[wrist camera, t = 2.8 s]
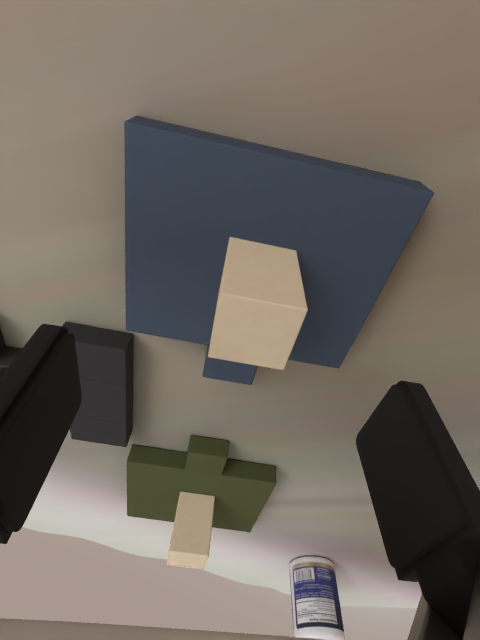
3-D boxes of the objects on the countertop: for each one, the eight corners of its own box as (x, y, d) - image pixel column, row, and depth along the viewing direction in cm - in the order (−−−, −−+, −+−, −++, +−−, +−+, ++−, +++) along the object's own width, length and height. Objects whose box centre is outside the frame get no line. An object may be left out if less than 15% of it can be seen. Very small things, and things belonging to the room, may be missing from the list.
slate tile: (420, 181, 14) (499, 242, 10) (319, 379, 22) (336, 467, 17) (136, 115, 13) (68, 147, 9) (133, 346, 21) (96, 431, 16)
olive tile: (284, 449, 27) (289, 532, 22) (250, 516, 35) (248, 588, 30) (132, 425, 26) (104, 507, 21) (131, 500, 34) (110, 572, 29)
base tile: (133, 333, 20) (125, 350, 19) (132, 430, 26) (126, 447, 25) (-80, 295, 19) (-102, 311, 18) (-30, 405, 25) (-44, 422, 24)
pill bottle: (325, 572, 44) (339, 683, 36) (284, 568, 43) (289, 678, 36) (340, 558, 40) (359, 676, 33) (296, 552, 40) (305, 670, 32)
